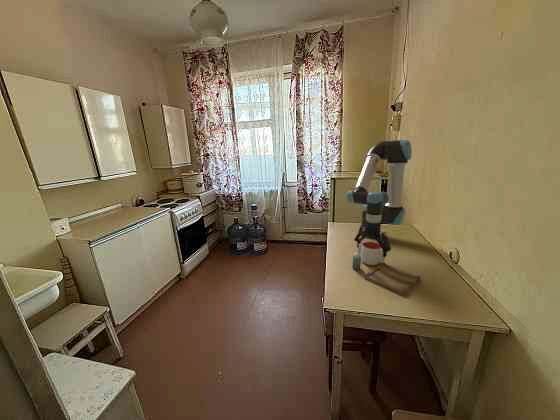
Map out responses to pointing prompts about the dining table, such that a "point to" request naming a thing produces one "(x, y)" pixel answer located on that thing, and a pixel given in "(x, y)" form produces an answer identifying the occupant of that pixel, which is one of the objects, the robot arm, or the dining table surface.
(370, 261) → the cup
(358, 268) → the shaker
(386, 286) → the board
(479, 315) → the dining table surface
